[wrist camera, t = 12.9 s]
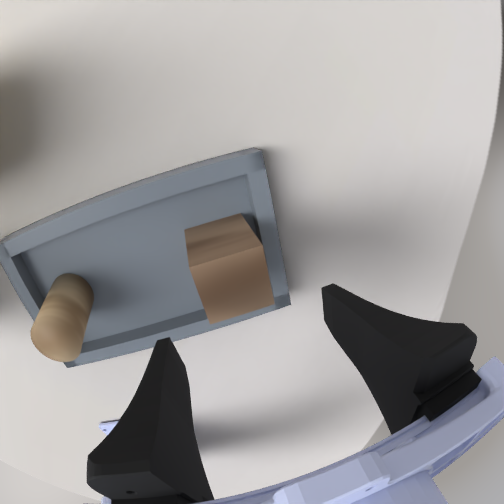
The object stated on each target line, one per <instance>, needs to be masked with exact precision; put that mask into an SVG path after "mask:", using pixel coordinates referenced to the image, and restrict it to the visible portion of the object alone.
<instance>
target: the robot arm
mask: <svg viewBox="0 0 504 504" xmlns="http://www.w3.org/2000/svg"><path fill="white" fill-rule="evenodd" d="M322 299H323V311H324V321H325V323H326V324H327V326H328V328H329V330H330V332H331V333H332V335H333V337H334V338H335V340H336V341H337V342H338V344H339V345H340V346H341V348H342V349H343V350H344V352H345V353H346V354H347V356H348V357H349V358H350V360H351V361H352V362H353V364H354V365H355V366H356V368H357V369H358V371H359V372H360V374H361V375H362V377H363V379H364V380H365V382H366V384H367V386H368V387H369V389H370V391H371V393H372V395H373V397H374V399H375V400H376V402H377V404H378V406H379V408H380V410H381V412H382V415H383V417H384V419H385V421H386V423H387V425H388V428H389V430H390V432H391V434H392V435H391V436H389V437H387V438H385V439H383V440H382V441H380V442H378V443H376V444H374V445H372V446H370V447H368V448H366V449H364V450H362V451H360V452H358V453H356V454H354V455H351V456H349V457H347V458H345V459H343V460H340V461H338V462H336V463H333V464H331V465H328V466H326V467H324V468H321V469H319V470H316V471H313V472H311V473H308V474H305V475H303V476H300V477H297V478H294V479H291V480H288V481H285V482H282V483H279V484H276V485H272V486H269V487H266V488H262V489H258V490H255V491H251V492H247V493H243V494H239V495H235V496H230V497H226V498H221V499H216V500H214V497H213V495H212V492H211V489H210V486H209V483H208V480H207V477H206V474H205V471H204V468H203V464H202V461H201V457H200V454H199V450H198V446H197V442H196V437H195V433H194V427H193V419H192V409H191V398H190V387H189V381H188V377H187V372H186V367H185V365H184V363H183V361H182V359H181V358H180V356H179V354H178V352H177V350H176V348H175V346H174V344H173V343H172V341H171V339H170V337H167V338H164V339H160V340H157V342H156V344H155V346H154V349H153V352H152V355H151V358H150V360H149V363H148V366H147V368H146V371H145V373H144V376H143V378H142V380H141V382H140V385H139V387H138V389H137V391H136V393H135V395H134V397H133V399H132V401H131V403H130V404H129V406H128V408H127V409H126V411H125V413H124V414H123V415H122V417H121V418H120V420H119V421H114V422H107V423H101V424H99V428H100V429H101V430H102V431H103V432H104V433H105V434H106V435H107V437H106V438H105V439H104V440H103V441H102V442H101V443H100V444H99V445H98V446H97V447H96V448H95V449H94V450H93V451H92V452H91V453H90V454H89V455H88V460H87V484H88V485H89V486H90V487H91V488H92V489H94V490H95V491H97V492H98V493H100V494H102V495H104V497H102V499H101V504H448V502H447V501H446V499H445V498H444V496H443V495H442V493H441V491H440V490H439V488H438V487H437V485H436V484H435V482H434V481H433V479H432V478H433V477H434V476H436V475H437V474H438V473H440V472H441V471H442V470H444V469H445V468H446V467H448V466H449V465H450V464H452V463H453V462H454V461H455V460H457V459H458V458H459V457H460V456H462V455H463V454H464V453H465V452H466V451H468V450H469V449H470V448H471V447H472V446H473V445H474V444H475V443H477V442H478V441H479V440H480V439H481V438H482V437H483V436H485V434H487V433H488V432H489V431H490V430H491V429H492V428H493V427H494V426H495V425H496V424H497V423H498V422H499V421H500V420H501V419H503V418H504V364H502V362H501V361H500V360H499V359H497V358H496V356H494V357H492V358H491V359H490V360H489V361H488V362H486V363H485V364H484V365H483V366H482V367H481V368H480V369H479V370H478V371H477V372H476V373H475V372H474V370H473V367H474V365H473V364H472V363H471V362H470V359H471V356H472V354H473V351H474V349H475V346H476V343H477V336H476V334H475V333H473V332H472V331H471V330H470V329H469V328H468V327H467V326H465V324H462V323H442V322H434V321H428V320H422V319H418V318H413V317H409V316H406V315H402V314H399V313H396V312H393V311H390V310H387V309H385V308H382V307H380V306H378V305H375V304H373V303H371V302H369V301H367V300H364V299H362V298H360V297H358V296H356V295H354V294H353V293H351V292H349V291H347V290H345V289H343V288H341V287H339V286H337V285H335V284H330V285H328V286H325V287H322ZM84 504H86V503H84Z"/></svg>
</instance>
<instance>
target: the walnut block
mask: <svg viewBox="0 0 504 504" xmlns="http://www.w3.org/2000/svg"><path fill="white" fill-rule="evenodd" d="M184 232H185V240H186V248H187V256H188V263H189V269H190V272H191V274H192V277H193V280H194V283H195V286H196V288H197V291H198V294H199V296H200V299H201V302H202V305H203V307H204V310H205V312H206V315H207V318H208V320H209V323H210V324H214V323H217V322H220V321H224V320H227V319H230V318H233V317H236V316H240V315H243V314H246V313H249V312H252V311H255V310H258V309H261V308H265V307H268V306H271V305H274V304H275V303H274V298H273V293H272V288H271V283H270V278H269V273H268V269H267V264H266V259H265V254H264V249H263V245H262V244H261V242H260V241H259V239H258V238H257V236H256V235H255V233H254V232H253V230H252V229H251V228H250V226H249V225H248V223H247V222H246V220H245V219H244V217H243V216H242V215H241V213H239V214H235V215H232V216H228V217H225V218H221V219H218V220H215V221H211V222H208V223H204V224H201V225H198V226H195V227H191V228H188V229H185V230H184Z"/></svg>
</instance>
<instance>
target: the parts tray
mask: <svg viewBox="0 0 504 504" xmlns="http://www.w3.org/2000/svg"><path fill="white" fill-rule="evenodd" d="M239 213H241V215H242V216H243V217H244V219H245V220H246V222H247V223H248V225H249V226H250V228H251V229H252V230H253V232H254V233H255V235H256V236H257V238H258V239H259V241H260V242H261V244H262V245H263V249H264V254H265V259H266V264H267V269H268V273H269V278H270V283H271V288H272V293H273V298H274V303H275V304H274V305H271V306H268V307H265V308H261V309H258V310H255V311H252V312H249V313H246V314H243V315H240V316H236V317H233V318H230V319H227V320H224V321H220V322H217V323H214V324H210V323H209V320H208V318H207V315H206V312H205V310H204V307H203V305H202V302H201V299H200V296H199V294H198V291H197V288H196V286H195V283H194V280H193V277H192V274H191V272H190V269H189V263H188V256H187V248H186V240H185V232H184V230H185V229H188V228H191V227H195V226H198V225H201V224H204V223H208V222H211V221H215V220H218V219H221V218H225V217H228V216H232V215H235V214H239ZM0 262H1V264H2V266H3V268H4V270H5V272H6V274H7V276H8V278H9V280H10V282H11V283H12V285H13V287H14V289H15V291H16V292H17V294H18V296H19V298H20V299H21V301H22V303H23V304H24V306H25V308H26V309H27V311H28V312H29V314H30V316H31V317H32V319H33V320H34V322H35V319H36V317H37V315H38V313H39V311H40V308H41V306H42V304H43V302H44V300H45V298H46V296H47V294H48V292H49V290H50V288H51V286H52V284H53V282H54V280H55V279H56V278H57V277H58V276H60V275H62V274H67V273H69V274H75V275H78V276H80V277H82V278H83V279H85V280H86V281H87V282H88V283H89V285H90V286H91V288H92V290H93V293H94V301H93V305H92V308H91V312H90V316H89V319H88V323H87V327H86V331H85V335H84V339H83V344H82V348H81V352H80V355H79V356H78V357H77V358H76V359H75V360H73V361H70V362H63V363H64V364H65V365H66V367H67V368H70V367H74V366H79V365H83V364H88V363H92V362H97V361H101V360H105V359H109V358H113V357H117V356H121V355H125V354H129V353H133V352H137V351H141V350H145V349H149V348H152V347H154V346H155V344H156V342H157V340H160V339H164V338H167V337H170V339H171V341H172V342H174V341H178V340H181V339H185V338H188V337H192V336H195V335H198V334H202V333H205V332H208V331H212V330H215V329H218V328H221V327H225V326H228V325H231V324H234V323H237V322H240V321H244V320H247V319H250V318H253V317H256V316H259V315H262V314H265V313H268V312H271V311H274V310H277V309H280V308H283V307H285V306H288V305H291V302H290V296H289V290H288V284H287V279H286V273H285V267H284V262H283V256H282V251H281V246H280V240H279V235H278V229H277V224H276V219H275V214H274V209H273V203H272V198H271V193H270V188H269V183H268V178H267V173H266V168H265V164H264V159H263V154H262V151H261V150H259V149H256V148H254V147H253V148H249V149H245V150H241V151H237V152H233V153H229V154H226V155H222V156H218V157H215V158H211V159H207V160H204V161H200V162H197V163H193V164H190V165H187V166H183V167H180V168H177V169H173V170H170V171H167V172H164V173H161V174H158V175H155V176H152V177H149V178H146V179H143V180H140V181H137V182H134V183H131V184H128V185H126V186H123V187H120V188H117V189H115V190H112V191H109V192H106V193H104V194H101V195H99V196H96V197H93V198H91V199H88V200H86V201H83V202H81V203H78V204H76V205H74V206H71V207H69V208H66V209H64V210H62V211H59V212H57V213H55V214H53V215H50V216H48V217H46V218H44V219H41V220H39V221H37V222H35V223H33V224H31V225H28V226H26V227H24V228H22V229H20V230H18V231H16V232H14V233H12V234H10V235H8V236H6V237H4V238H3V239H2V240H1V241H0Z"/></svg>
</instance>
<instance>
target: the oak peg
mask: <svg viewBox="0 0 504 504" xmlns="http://www.w3.org/2000/svg"><path fill="white" fill-rule="evenodd" d="M93 301H94V293H93V290H92V288H91V286H90V285H89V283H88V282H87V281H86V280H85V279H83V278H82V277H80V276H78V275H75V274H69V273H67V274H62V275H60V276H58V277H57V278H56V279H55V280H54V282H53V284H52V286H51V288H50V290H49V292H48V294H47V296H46V298H45V300H44V302H43V304H42V306H41V308H40V311H39V313H38V315H37V317H36V319H35V322H34V324H33V326H32V328H31V339H32V342H33V344H34V345H35V347H36V348H37V349H38V350H39V351H40V352H41V353H42V354H43V355H45V356H46V357H48V358H50V359H52V360H55V361H59V362H70V361H73V360H75V359H76V358H77V357H78V356H79V355H80V352H81V348H82V344H83V339H84V335H85V331H86V327H87V323H88V319H89V316H90V312H91V308H92V305H93Z"/></svg>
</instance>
